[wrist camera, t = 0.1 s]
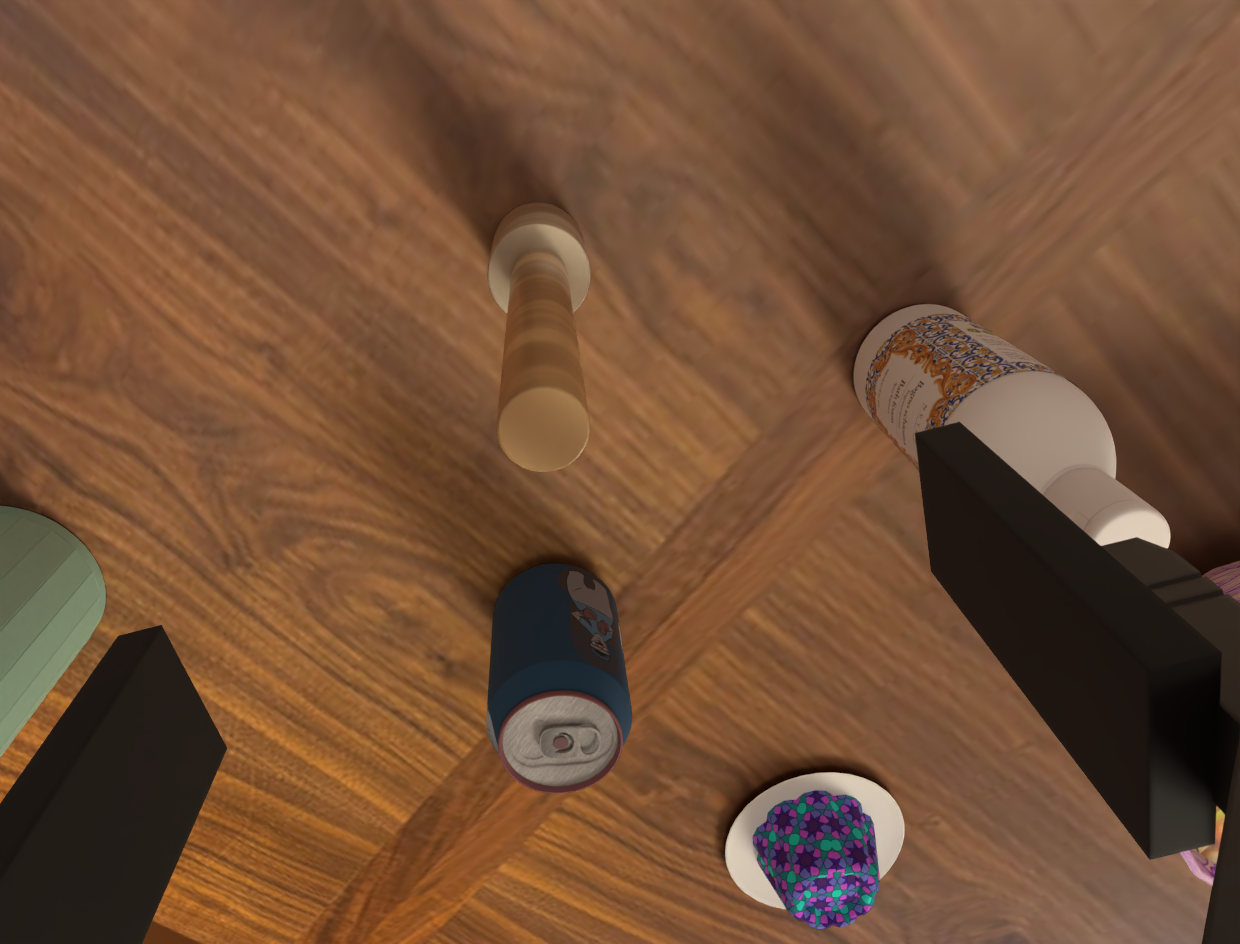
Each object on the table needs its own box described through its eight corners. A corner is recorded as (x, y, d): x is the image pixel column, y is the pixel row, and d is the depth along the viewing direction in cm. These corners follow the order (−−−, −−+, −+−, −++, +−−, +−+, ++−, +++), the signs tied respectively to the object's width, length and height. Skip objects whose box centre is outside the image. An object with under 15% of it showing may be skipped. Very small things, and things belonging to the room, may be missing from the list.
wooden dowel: (521, 183, 45) (511, 314, 23) (600, 233, 46) (661, 401, 24) (476, 263, 46) (426, 459, 24) (554, 309, 47) (572, 534, 26)
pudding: (907, 755, 61) (938, 815, 56) (894, 891, 66) (922, 957, 61) (722, 773, 61) (738, 835, 56) (723, 909, 66) (738, 977, 61)
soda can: (494, 656, 56) (485, 806, 45) (493, 552, 53) (483, 684, 42) (612, 655, 56) (632, 802, 45) (618, 552, 53) (640, 682, 42)
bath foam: (868, 292, 48) (1070, 441, 30) (995, 309, 49) (1264, 463, 31) (836, 419, 51) (1003, 625, 33) (957, 433, 52) (1184, 641, 34)
